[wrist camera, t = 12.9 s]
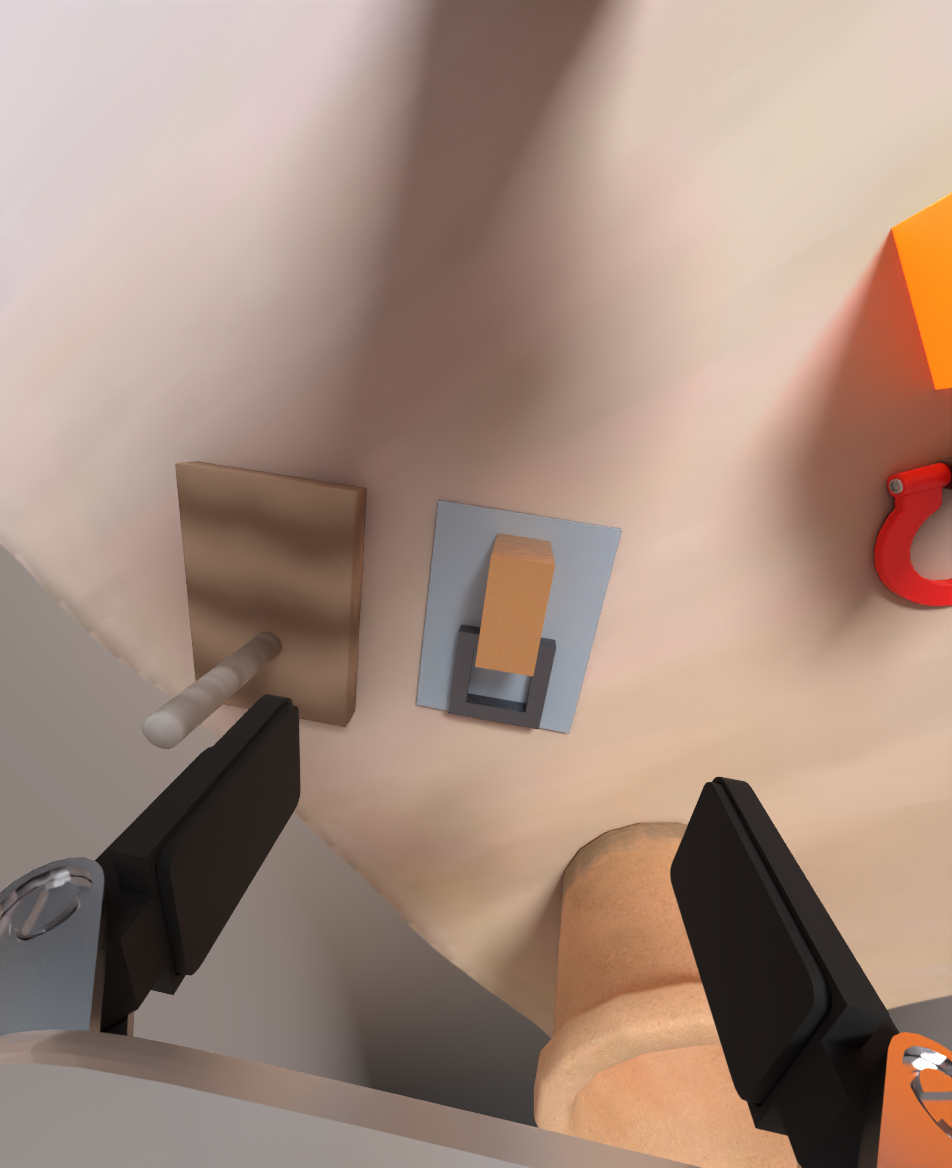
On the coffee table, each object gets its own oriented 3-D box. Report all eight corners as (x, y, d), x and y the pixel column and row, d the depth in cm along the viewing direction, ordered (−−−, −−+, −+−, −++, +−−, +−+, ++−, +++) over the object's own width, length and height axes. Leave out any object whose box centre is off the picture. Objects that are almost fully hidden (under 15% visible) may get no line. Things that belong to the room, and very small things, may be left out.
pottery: (490, 837, 38) (470, 1057, 25) (750, 761, 33) (904, 988, 19) (588, 992, 44) (615, 1243, 30) (825, 948, 38) (988, 1230, 25)
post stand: (197, 461, 30) (-2, 479, 19) (366, 488, 29) (265, 523, 18) (214, 684, 36) (72, 799, 25) (354, 711, 35) (274, 841, 24)
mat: (439, 499, 29) (438, 500, 29) (620, 528, 28) (621, 529, 28) (417, 701, 34) (416, 704, 34) (569, 730, 34) (569, 733, 33)
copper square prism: (472, 529, 29) (461, 550, 24) (575, 544, 29) (585, 569, 23) (450, 703, 34) (436, 752, 29) (538, 719, 33) (540, 771, 28)
